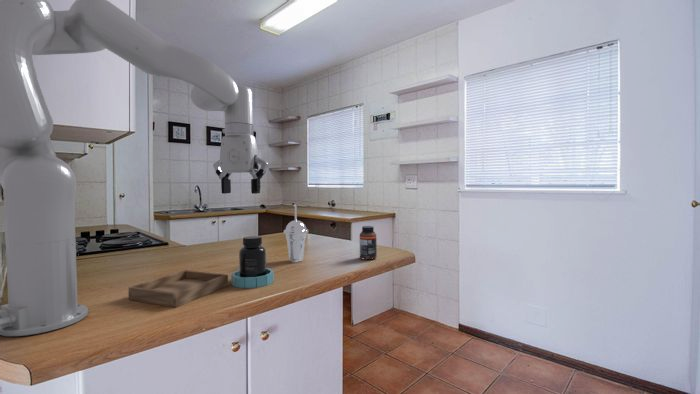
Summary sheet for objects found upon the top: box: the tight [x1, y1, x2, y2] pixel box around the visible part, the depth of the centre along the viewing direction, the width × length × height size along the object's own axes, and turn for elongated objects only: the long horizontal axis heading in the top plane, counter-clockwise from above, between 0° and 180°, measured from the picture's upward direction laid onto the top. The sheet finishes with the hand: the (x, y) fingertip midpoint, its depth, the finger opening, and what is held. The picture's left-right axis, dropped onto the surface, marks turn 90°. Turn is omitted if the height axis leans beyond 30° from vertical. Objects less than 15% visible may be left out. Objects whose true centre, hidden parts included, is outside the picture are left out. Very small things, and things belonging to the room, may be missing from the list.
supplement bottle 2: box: [359, 225, 378, 259], centre depth 116 cm, size 6×6×11 cm
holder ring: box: [230, 267, 275, 289], centre depth 88 cm, size 11×11×2 cm
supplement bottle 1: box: [238, 235, 267, 277], centre depth 88 cm, size 7×7×12 cm
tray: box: [127, 269, 229, 308], centre depth 79 cm, size 16×14×3 cm
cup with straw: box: [282, 202, 309, 263], centre depth 111 cm, size 8×9×20 cm
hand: (240, 193), depth 92 cm, fingers open, 9 cm apart
